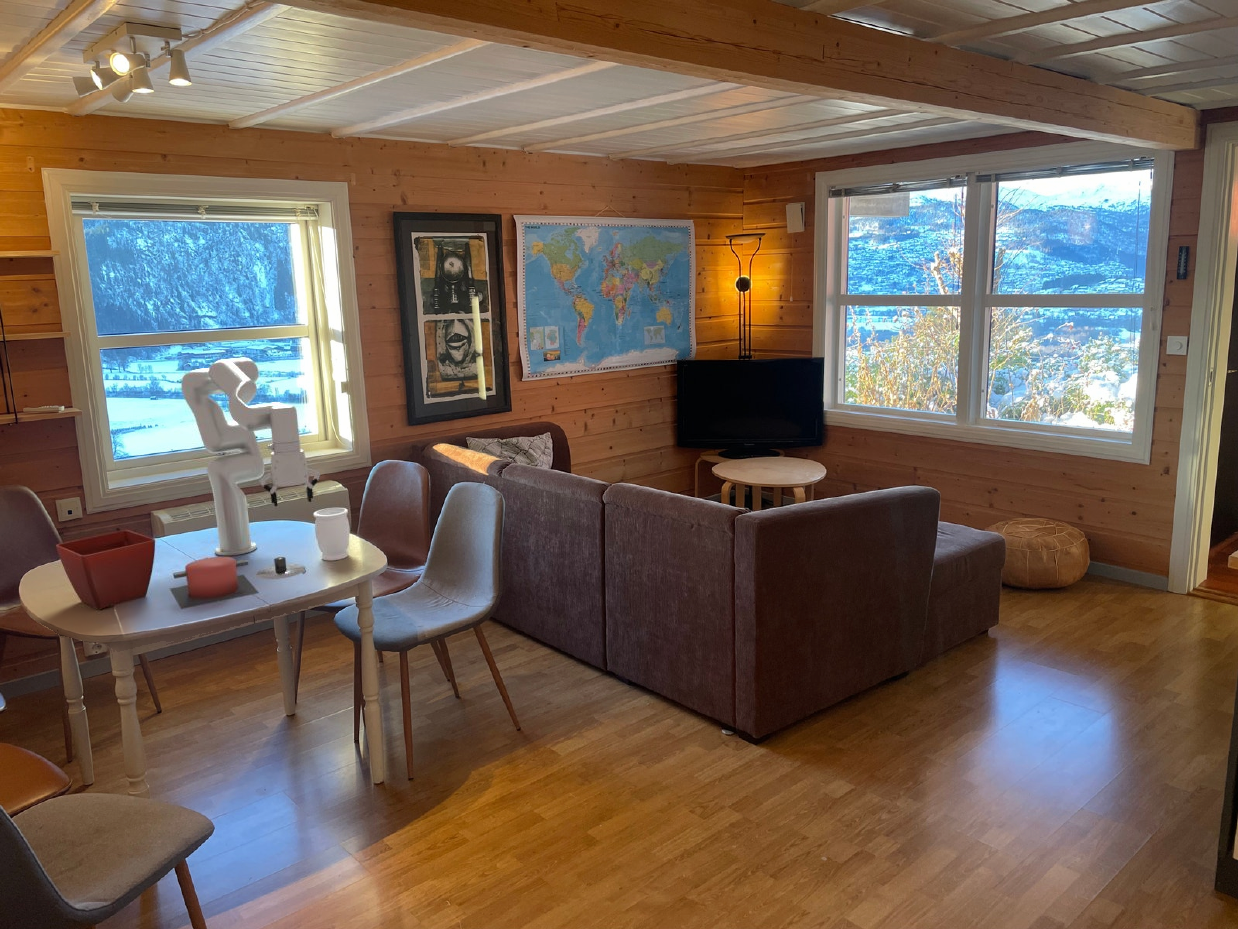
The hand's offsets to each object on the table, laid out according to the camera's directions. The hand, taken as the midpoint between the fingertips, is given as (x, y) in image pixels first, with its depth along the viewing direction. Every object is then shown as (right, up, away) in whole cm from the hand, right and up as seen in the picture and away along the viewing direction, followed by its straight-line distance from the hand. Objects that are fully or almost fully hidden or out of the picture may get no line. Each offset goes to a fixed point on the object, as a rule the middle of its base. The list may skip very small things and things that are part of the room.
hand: (292, 503), depth 271 cm
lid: (-4, -22, +2) cm, 22 cm away
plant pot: (-44, -26, -17) cm, 54 cm away
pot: (-17, -24, -14) cm, 33 cm away
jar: (+8, -18, +16) cm, 26 cm away
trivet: (-17, -25, -14) cm, 33 cm away
